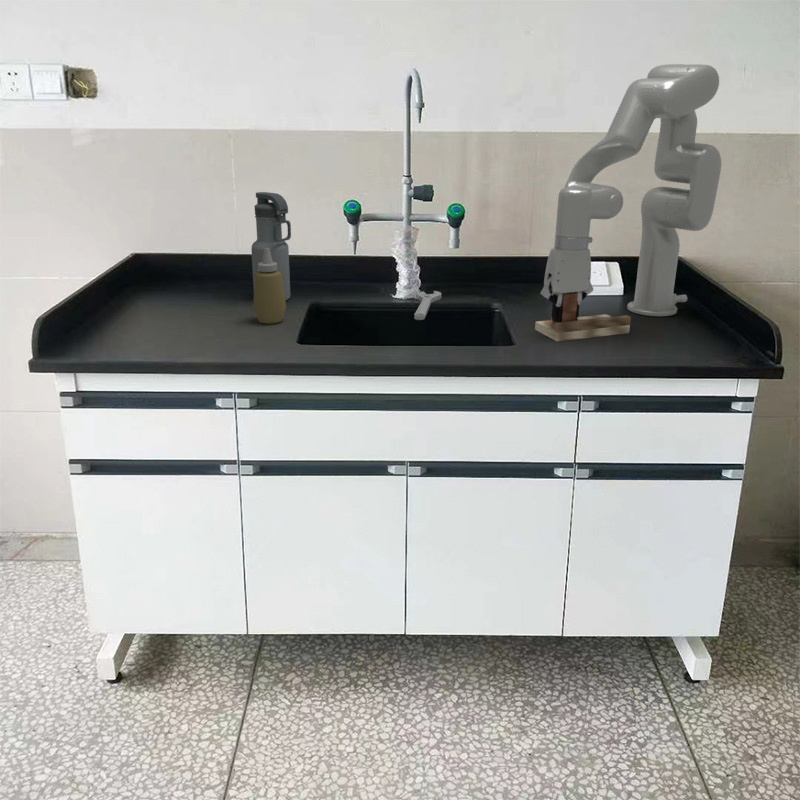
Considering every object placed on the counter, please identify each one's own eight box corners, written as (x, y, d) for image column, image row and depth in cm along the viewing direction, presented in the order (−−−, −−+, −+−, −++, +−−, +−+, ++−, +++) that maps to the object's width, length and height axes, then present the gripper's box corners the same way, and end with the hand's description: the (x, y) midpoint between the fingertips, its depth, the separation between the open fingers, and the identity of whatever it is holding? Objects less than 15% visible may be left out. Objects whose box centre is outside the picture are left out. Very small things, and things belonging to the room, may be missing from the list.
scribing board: (604, 321, 205) (606, 306, 203) (629, 333, 196) (630, 316, 195) (535, 329, 198) (536, 313, 197) (556, 341, 189) (558, 324, 188)
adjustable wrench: (424, 322, 205) (424, 315, 204) (399, 320, 206) (399, 313, 206) (442, 297, 228) (442, 291, 227) (420, 295, 229) (420, 289, 228)
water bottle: (299, 297, 224) (295, 193, 213) (275, 305, 216) (270, 197, 206) (270, 292, 229) (265, 190, 218) (246, 299, 221) (240, 194, 211)
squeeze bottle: (293, 319, 204) (290, 247, 198) (275, 327, 198) (271, 253, 191) (265, 315, 208) (262, 244, 201) (247, 323, 201) (242, 249, 194)
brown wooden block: (561, 319, 198) (563, 287, 195) (574, 326, 193) (578, 293, 190) (548, 321, 197) (550, 288, 194) (561, 328, 192) (564, 294, 189)
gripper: (593, 238, 193) (585, 313, 199) (531, 242, 187) (525, 319, 194) (611, 244, 186) (603, 321, 193) (548, 248, 181) (542, 328, 187)
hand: (564, 320), depth 193 cm, fingers closed on brown wooden block, 3 cm apart
